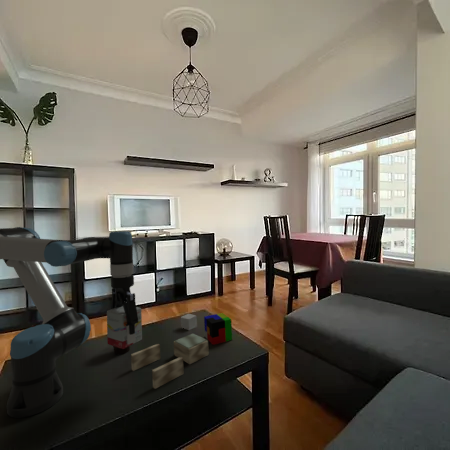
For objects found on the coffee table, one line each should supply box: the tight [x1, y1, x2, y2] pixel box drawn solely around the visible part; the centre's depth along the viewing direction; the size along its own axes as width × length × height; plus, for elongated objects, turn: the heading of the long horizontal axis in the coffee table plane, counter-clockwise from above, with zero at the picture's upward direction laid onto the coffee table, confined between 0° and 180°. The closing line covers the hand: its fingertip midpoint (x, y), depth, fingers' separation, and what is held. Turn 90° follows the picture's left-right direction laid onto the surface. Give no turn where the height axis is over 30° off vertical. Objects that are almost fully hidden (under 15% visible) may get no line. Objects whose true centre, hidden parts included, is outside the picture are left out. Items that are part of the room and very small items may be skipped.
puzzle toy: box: [203, 312, 233, 346], centre depth 129 cm, size 10×10×10 cm
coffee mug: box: [112, 345, 131, 356], centre depth 122 cm, size 12×9×10 cm
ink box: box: [106, 306, 143, 349], centre depth 94 cm, size 9×9×12 cm
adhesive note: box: [180, 313, 198, 331], centre depth 144 cm, size 6×6×6 cm
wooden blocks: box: [130, 333, 209, 390], centre depth 108 cm, size 28×18×6 cm, turn 134°
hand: (124, 338), depth 94 cm, fingers closed on ink box, 10 cm apart
